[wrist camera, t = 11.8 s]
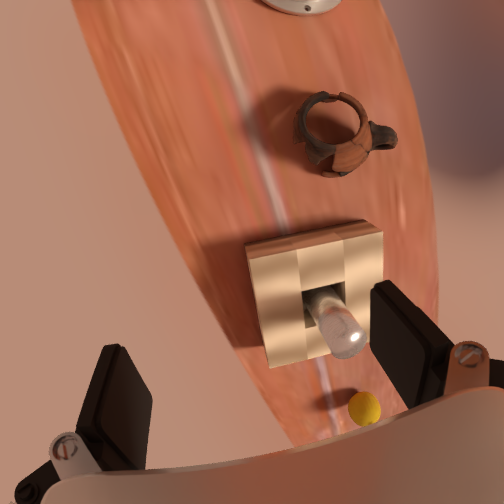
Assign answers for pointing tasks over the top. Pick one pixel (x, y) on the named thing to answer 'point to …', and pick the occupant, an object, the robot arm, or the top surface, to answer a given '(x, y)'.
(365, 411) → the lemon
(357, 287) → the bore block
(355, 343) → the pin
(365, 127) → the pottery mug
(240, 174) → the top surface
